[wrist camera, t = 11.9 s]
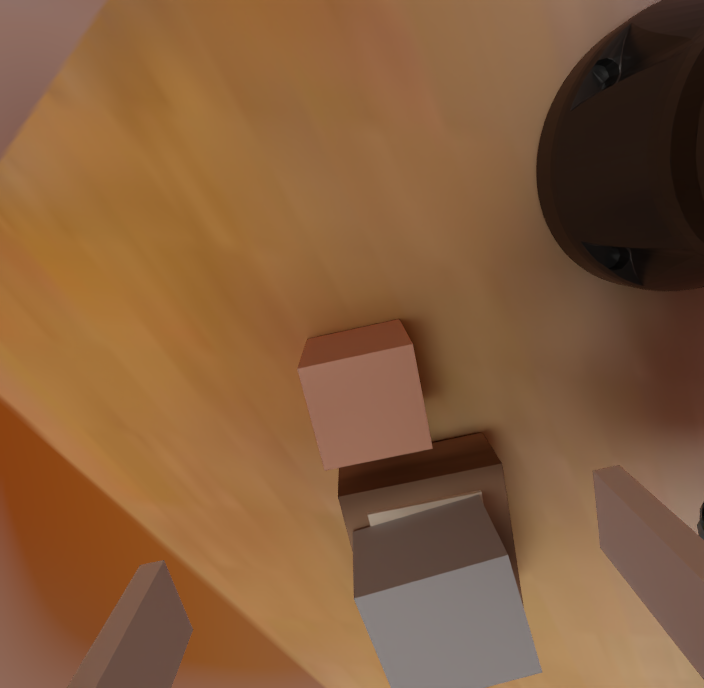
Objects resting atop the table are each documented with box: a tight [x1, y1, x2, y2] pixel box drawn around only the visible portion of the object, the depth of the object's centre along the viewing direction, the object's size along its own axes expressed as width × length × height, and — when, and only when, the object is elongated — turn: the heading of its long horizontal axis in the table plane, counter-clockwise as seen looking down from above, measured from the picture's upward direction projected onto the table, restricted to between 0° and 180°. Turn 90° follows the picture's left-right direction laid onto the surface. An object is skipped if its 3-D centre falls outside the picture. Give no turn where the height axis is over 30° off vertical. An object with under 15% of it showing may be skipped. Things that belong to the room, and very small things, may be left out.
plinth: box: [338, 433, 524, 608], centre depth 30 cm, size 12×10×4 cm
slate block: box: [353, 495, 542, 688], centre depth 25 cm, size 8×8×5 cm
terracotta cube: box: [297, 319, 433, 470], centre depth 26 cm, size 6×6×6 cm
